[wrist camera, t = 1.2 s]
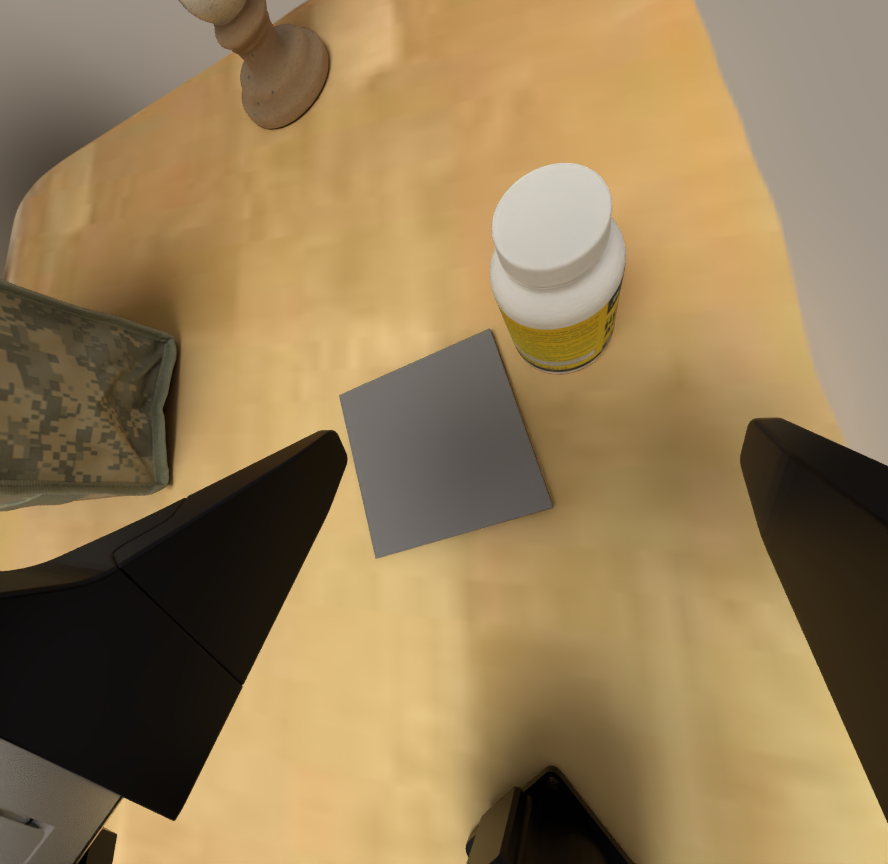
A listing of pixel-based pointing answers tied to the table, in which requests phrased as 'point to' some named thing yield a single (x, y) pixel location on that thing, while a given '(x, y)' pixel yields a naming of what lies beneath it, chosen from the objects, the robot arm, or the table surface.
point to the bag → (79, 402)
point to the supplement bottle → (557, 266)
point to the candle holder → (268, 58)
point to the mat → (442, 448)
